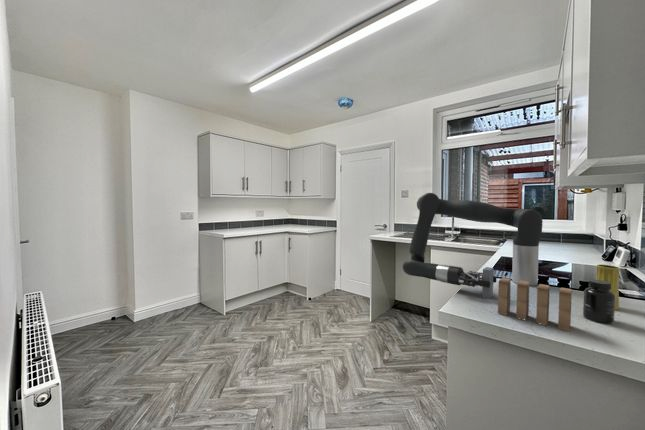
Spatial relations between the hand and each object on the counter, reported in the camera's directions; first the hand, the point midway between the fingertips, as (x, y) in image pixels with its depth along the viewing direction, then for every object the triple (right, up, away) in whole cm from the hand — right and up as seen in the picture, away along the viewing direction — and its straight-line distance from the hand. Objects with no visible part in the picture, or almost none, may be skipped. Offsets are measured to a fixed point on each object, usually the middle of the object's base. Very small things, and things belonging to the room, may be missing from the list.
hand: (493, 282), depth 103 cm
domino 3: (-1, -7, -17) cm, 18 cm away
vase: (+33, -6, -9) cm, 35 cm away
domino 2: (-5, -7, -13) cm, 16 cm away
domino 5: (+6, -7, -24) cm, 26 cm away
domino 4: (+2, -7, -20) cm, 22 cm away
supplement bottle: (+21, -7, -19) cm, 29 cm away
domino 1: (-1, -6, +2) cm, 6 cm away
